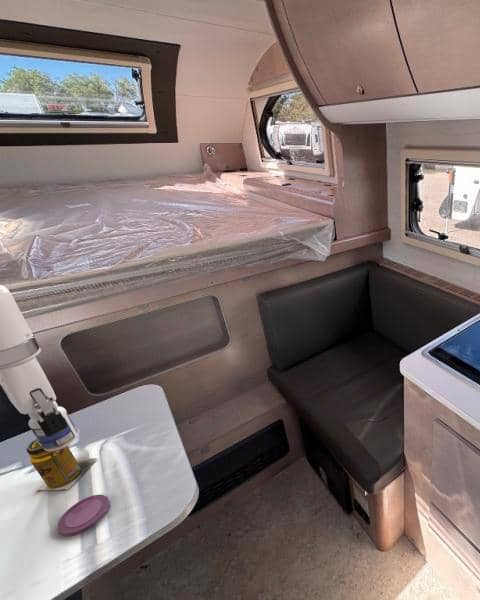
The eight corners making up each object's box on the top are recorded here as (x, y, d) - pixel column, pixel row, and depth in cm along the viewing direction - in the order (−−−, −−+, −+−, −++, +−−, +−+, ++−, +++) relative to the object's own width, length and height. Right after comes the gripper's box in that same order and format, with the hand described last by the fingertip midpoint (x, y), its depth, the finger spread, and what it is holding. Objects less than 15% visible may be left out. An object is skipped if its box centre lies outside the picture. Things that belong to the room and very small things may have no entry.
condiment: (36, 490, 76) (10, 454, 70) (68, 459, 83) (47, 424, 78) (68, 489, 76) (45, 454, 71) (98, 458, 83) (79, 424, 78)
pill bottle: (51, 436, 70) (30, 401, 66) (83, 428, 72) (64, 394, 68) (38, 455, 65) (15, 419, 61) (72, 447, 67) (52, 411, 63)
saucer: (66, 544, 65) (65, 542, 65) (52, 521, 69) (50, 519, 69) (116, 509, 72) (115, 506, 72) (101, 490, 76) (99, 487, 75)
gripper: (-36, 347, 60) (12, 420, 67) (-10, 378, 52) (41, 457, 60) (22, 330, 66) (60, 399, 73) (53, 355, 58) (92, 430, 65)
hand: (51, 424), depth 66 cm, fingers closed on pill bottle, 5 cm apart
